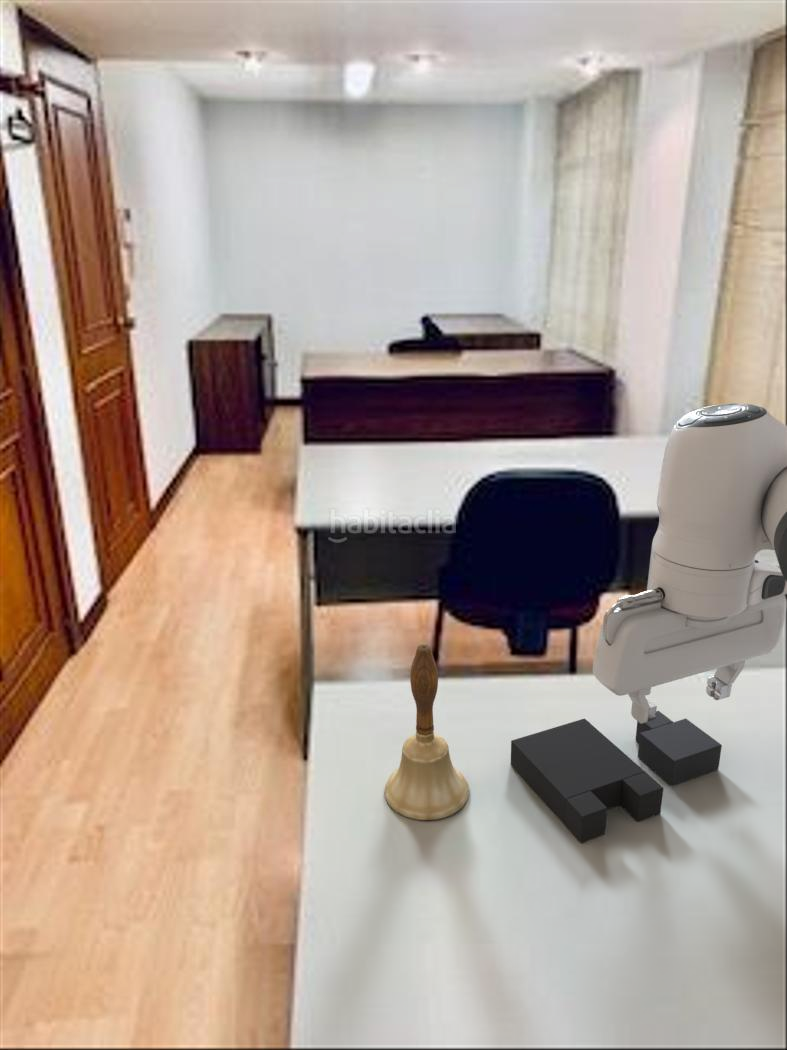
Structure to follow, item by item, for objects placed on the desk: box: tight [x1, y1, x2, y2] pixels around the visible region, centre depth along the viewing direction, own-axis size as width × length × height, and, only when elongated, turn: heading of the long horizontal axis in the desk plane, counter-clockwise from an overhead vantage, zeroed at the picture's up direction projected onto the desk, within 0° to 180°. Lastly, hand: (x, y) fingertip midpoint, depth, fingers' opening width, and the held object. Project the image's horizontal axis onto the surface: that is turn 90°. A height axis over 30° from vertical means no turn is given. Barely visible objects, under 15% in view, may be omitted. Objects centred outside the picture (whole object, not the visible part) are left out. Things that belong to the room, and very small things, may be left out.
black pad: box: [510, 718, 664, 844], centre depth 74 cm, size 9×12×3 cm
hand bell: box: [384, 643, 470, 821], centre depth 72 cm, size 8×8×16 cm
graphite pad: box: [635, 710, 723, 787], centre depth 78 cm, size 6×7×3 cm
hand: (680, 707), depth 75 cm, fingers open, 8 cm apart
